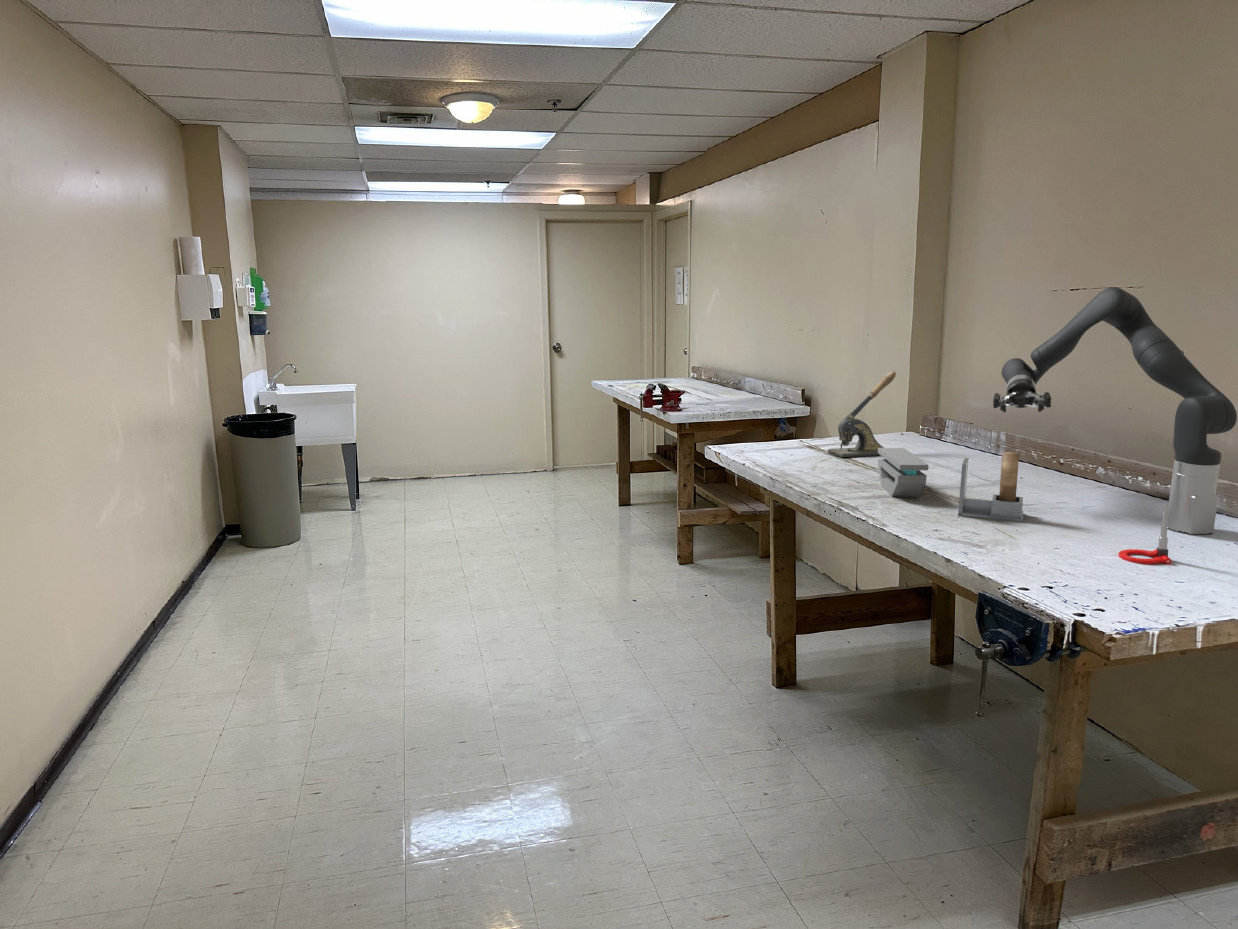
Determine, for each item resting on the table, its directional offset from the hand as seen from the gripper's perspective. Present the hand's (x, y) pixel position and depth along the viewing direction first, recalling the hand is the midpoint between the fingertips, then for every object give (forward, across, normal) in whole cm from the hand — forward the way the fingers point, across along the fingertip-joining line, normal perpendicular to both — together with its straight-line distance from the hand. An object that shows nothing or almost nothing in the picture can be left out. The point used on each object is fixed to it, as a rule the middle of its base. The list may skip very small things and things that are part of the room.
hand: (1022, 408), depth 221 cm
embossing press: (-56, -50, +35) cm, 83 cm away
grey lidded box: (-2, -32, +27) cm, 42 cm away
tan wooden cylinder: (+15, -4, +24) cm, 29 cm away
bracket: (+15, -7, +25) cm, 30 cm away
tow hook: (+41, +24, +22) cm, 53 cm away
